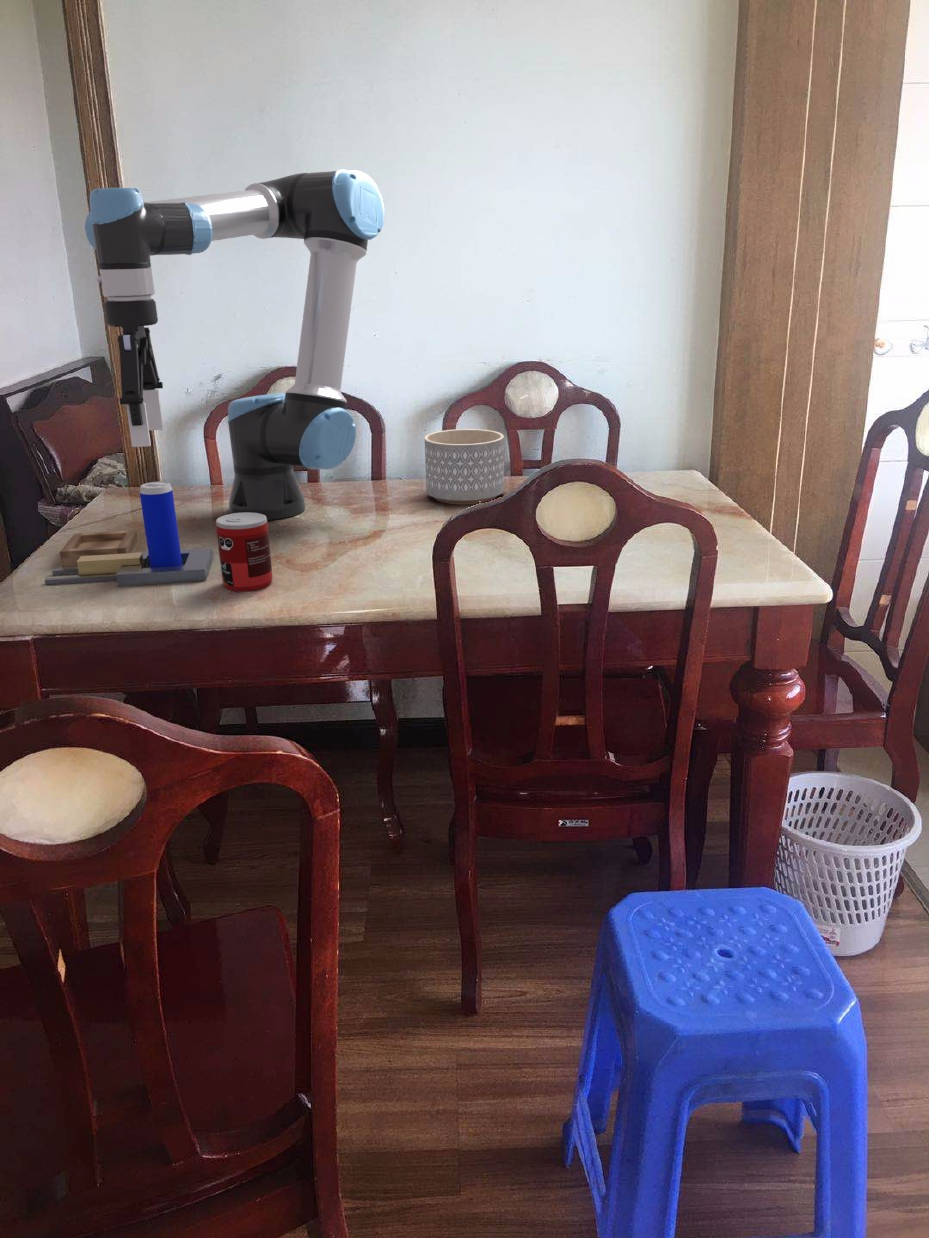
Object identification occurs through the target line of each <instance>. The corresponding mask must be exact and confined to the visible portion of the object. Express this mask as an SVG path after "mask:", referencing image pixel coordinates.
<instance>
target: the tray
mask: <svg viewBox="0 0 929 1238" xmlns="http://www.w3.org/2000/svg"><path fill="white" fill-rule="evenodd" d="M139 545H140V543H139V536H138V530H137V529H132V530H129V529H128V530H117V531H115V530H114V531H98V532H97V531H94V532H80V533H79V532H78V533H74V534H72V536H71V537H70V538H69V540H68V541H67V542H66V543H65V545H64V546H63V547H62V548H61V550H60V551H59V555H60V560H61V568H64V567H65V568H68V567H78V566H77V561H78V559H79V558H80V557H81V556H92V555H109V554H126V553H129V552H136V550H137V548H138V547H139Z"/></svg>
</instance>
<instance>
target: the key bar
mask: <svg viewBox="0 0 929 1238" xmlns="http://www.w3.org/2000/svg"><path fill="white" fill-rule="evenodd" d="M125 566H143V568H145V567H144V560H143V553H126V554H109V555H92V556H81V557H80V558H79V559H78V561H77V566H76V567H77V568H78V572H79V574H78V576H92V575H108V574H117V572H118V570H119V569H120V567H125Z"/></svg>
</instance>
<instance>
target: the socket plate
mask: <svg viewBox="0 0 929 1238" xmlns="http://www.w3.org/2000/svg"><path fill="white" fill-rule="evenodd" d="M180 551H181V559H182V566H173V567H157V568H150V561H149V554H148V550H147V551H146V550H145V551H135V552H129V553H143V560H144V567H145V568H143V566H125V567H120V569H119V570H118V572H117V574H108V575H92V576H79V572H78V567H65V568H64V567H63V568H54V569H52V570H51V573H52V576H63V577H48V578H45V579H44V583H45V584H44V585H46V586H47V585H48V586H49V585H51V586H52V585H66V584H68V585H69V584H81V583H82V584H83V583H84V584H85V583H99V582H113V581H116V583H117V587H129V586H131V587H133V586H144V585H145V586H146V585H161V584H162V585H163V584H175V583H180V584H181V583H191V582H192V583H194V582H205V581H207V579H208V575H209V573H210V569H211V566H212V563H213V561H214V554H213V547H199V548H198V547H196V548H180ZM66 575H78V576H66Z"/></svg>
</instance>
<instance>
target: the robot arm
mask: <svg viewBox="0 0 929 1238" xmlns="http://www.w3.org/2000/svg"><path fill="white" fill-rule="evenodd" d="M89 209H90V210H89V211H90V212H89V213H88V214H87V216H86V218H85V222H84V231H85V235H86V239H87V241H88V243H89V244H90V246H91V247H92V248H93V249H94V250H95V251H96V258H97V262H98V263H97V264H98V269H99V274H100V275H98V276H96V281H97V282H98V283H101V289H102V291H101V292H102V296H104V298H107V300H105V301H104V303H103V307H104V312H105V319H106V324H107V326H109V327H114V328H119V327H120V328H121V329H122V334H121V335H120V334H119V335H117V342H118V349H119V362H120V363H119V365H120V366H119V367H120V379H121V380H120V384H121V387H120V388H121V397H120V398H119V404H120V405H125V407H126V414H127V422H128V428H129V434H130V443H131V447H132V448H139V447H141V448H143V447H151V443H152V442H151V437H150V431H164V421H163V413H162V408H161V407H162V406H161V399H160V391H159V389H163V388H164V386H163V385H164V384H163V381H161V380H160V377H159V373H158V369H157V368H158V367H157V364H156V358H155V353H154V351H153V349H154V348H153V345H152V340H151V335H150V334H151V330H150V327H149V326H153V325H156V324H158V322H159V321H158V320H159V319H158V318H159V317H158V311H157V310H158V309H157V305H156V304H157V303H156V301H155V299H153V298H152V296H153V295H155V293H156V292H155V285H154V276H153V271H152V270H153V269H152V265H151V256H167V255H168V256H172V255H173V256H174V255H186V256H187V255H189V256H191V255H192V254H200V253H203V252H205V251H206V250H207V249H208V248H210V245H211V243H212V242H215V241H221V240H222V241H223V240H226V239H235V238H240V237H241V238H242V237H246V236H247V237H248V236H254V237H256V238H258V239H263V240H264V239H270V238H271V239H273V238H284V239H285V238H286V239H287V238H288V239H297V240H299V239H300V240H303V244H304V245H305V247H306V248H307V249H308V251H309V253H310V258H309V266H308V273H307V274H308V275H307V283H306V289H305V298H304V306H303V314H302V322H301V323H302V324H301V328H300V329H301V330H300V332H301V333H300V338H299V347H298V354H297V361H296V362H297V364H296V372H295V379H294V383H293V385H292V386H291V387H289V388H288V389H287V390H286V391H285V393H281V392H279V393H269V394H260V395H253V396H247V397H242V398H237V399H234V400H232V401H230V402H229V404H228V406H227V407H228V408H227V414H228V418H227V425H228V431H229V438H230V439H229V440H230V447H231V455H232V457H231V458H232V462H233V473H234V475H233V476H234V478H233V481H232V486H231V491H230V496H229V499H228V500H229V501H228V508H229V514H233V513H244V512H251V513H259V514H263V515H265V516H266V519H267V521H270V520H279V519H285V518H289V517H293V516H296V515H299V514H302V513H303V512H304V511H305V509H306V503H305V496H304V494H303V492H302V488H301V486H300V483H299V481H298V480H297V477H296V474H295V471H294V466H295V467H301V468H306V469H309V470H325V471H326V470H333V469H335V468H337V467H339V466H341V465H342V463H343V462H344V461H346V460H347V459H348V458H349V456H350V455H351V452H352V451H353V449H354V446H355V442H356V437H357V429H356V428H357V427H356V424H355V423H354V418H353V416H352V414H351V413H350V412H348V411H347V403H348V402H347V399H346V398H345V397H344V395H343V394H342V391H341V388H342V381H343V373H344V365H345V357H346V356H345V355H346V349H347V340H348V333H349V326H350V318H351V311H352V304H353V303H352V302H353V294H354V287H355V280H356V279H355V278H356V271H357V264H358V261H360V260H361V259H362V258H364V257H365V256H366V255H367V250H368V244H369V243H368V242H369V241H371V240H372V239H374V238H376V237H377V236H378V235H379V233H380V232H381V231H382V229H383V226H384V223H385V206H384V201H383V197H382V194H381V193H380V190H379V188H378V185H377V184H376V183H375V181H374V180H373V179H372V178H371V177H370V176H369V175H368V174H366V173H365V172H363V171H360V170H347V169H339V170H332V171H330V170H329V171H318V172H301V173H296V174H295V173H294V174H290V175H287V176H284V177H279V178H276V179H273V180H267V181H263V182H257V183H256V182H255V183H252V184H249V185H248V186H247V187H246V188H244V190H240V191H230V192H228V191H227V192H222V193H221V192H220V193H213V194H204V195H196V196H186V197H178V198H169V199H159V200H154V201H144V199H143V194H142V193H141V190H140V189H138V188H136V187H133V188H132V187H104V188H103V187H100V188H99V187H97V188H94V189H93V190H92V191H91V192H90V193H89ZM146 326H147V327H146Z"/></svg>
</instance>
